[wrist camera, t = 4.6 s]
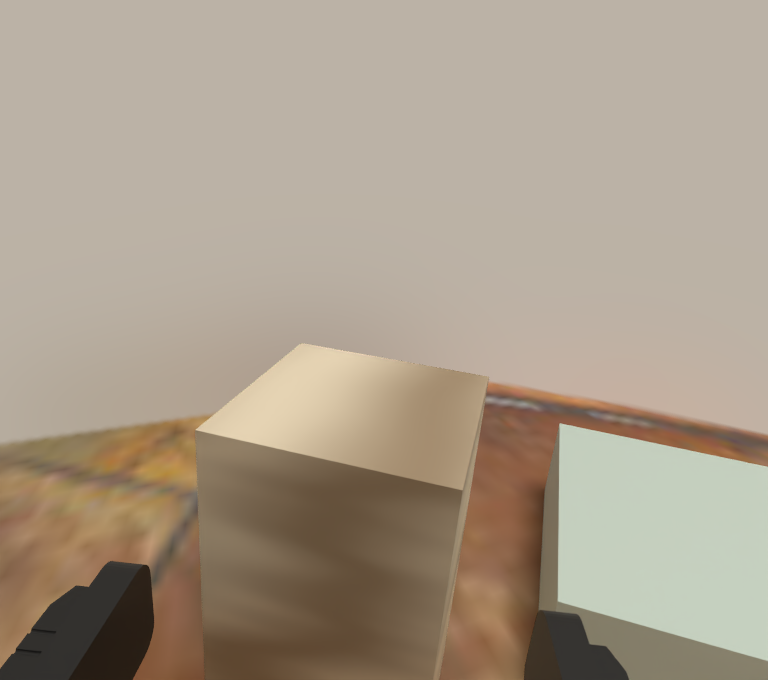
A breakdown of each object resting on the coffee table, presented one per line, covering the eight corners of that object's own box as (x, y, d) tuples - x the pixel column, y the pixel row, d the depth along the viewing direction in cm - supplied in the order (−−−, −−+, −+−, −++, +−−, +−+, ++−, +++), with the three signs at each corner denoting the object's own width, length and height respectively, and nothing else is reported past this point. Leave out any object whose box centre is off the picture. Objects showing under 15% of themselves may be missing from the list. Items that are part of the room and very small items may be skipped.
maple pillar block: (208, 783, 14) (195, 429, 10) (291, 626, 18) (301, 343, 15) (404, 857, 13) (462, 490, 9) (441, 670, 17) (489, 377, 14)
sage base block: (532, 701, 17) (557, 601, 16) (543, 496, 27) (559, 423, 26) (967, 845, 14) (1046, 739, 13) (802, 558, 24) (836, 481, 23)
